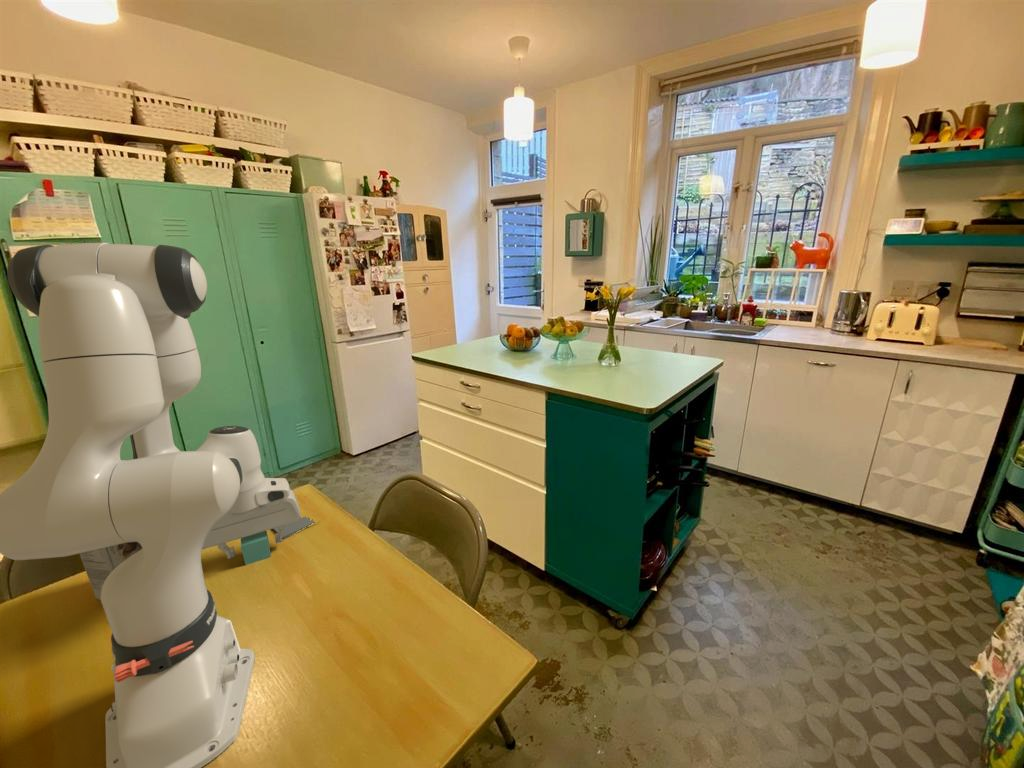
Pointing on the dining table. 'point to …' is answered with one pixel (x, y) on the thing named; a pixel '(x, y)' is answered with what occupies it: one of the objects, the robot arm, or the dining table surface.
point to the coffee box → (106, 562)
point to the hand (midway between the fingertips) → (256, 548)
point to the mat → (295, 526)
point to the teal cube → (255, 547)
